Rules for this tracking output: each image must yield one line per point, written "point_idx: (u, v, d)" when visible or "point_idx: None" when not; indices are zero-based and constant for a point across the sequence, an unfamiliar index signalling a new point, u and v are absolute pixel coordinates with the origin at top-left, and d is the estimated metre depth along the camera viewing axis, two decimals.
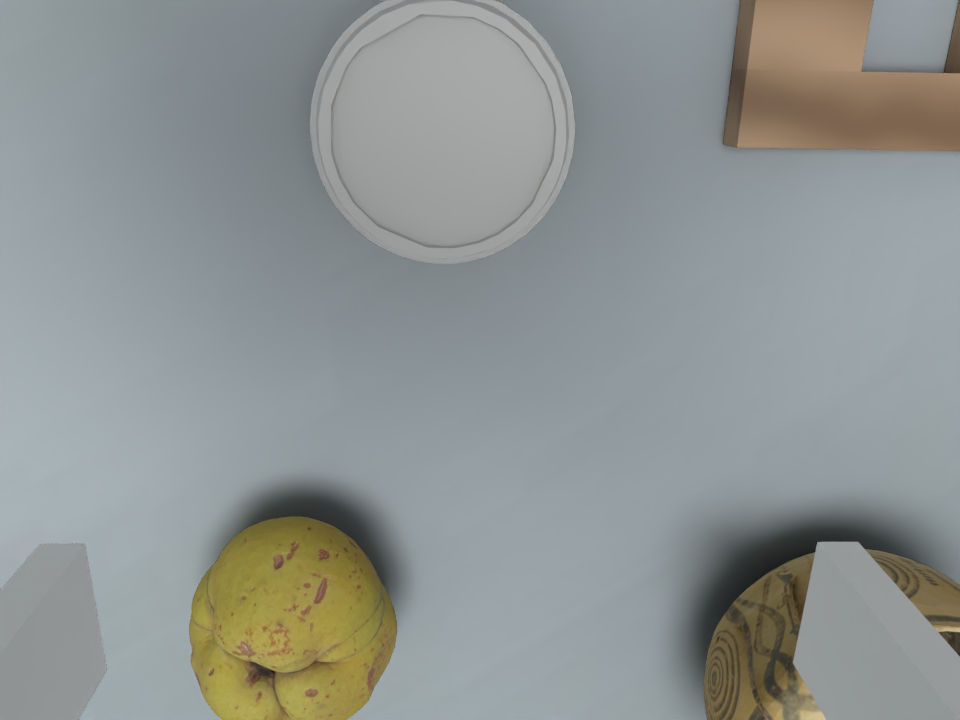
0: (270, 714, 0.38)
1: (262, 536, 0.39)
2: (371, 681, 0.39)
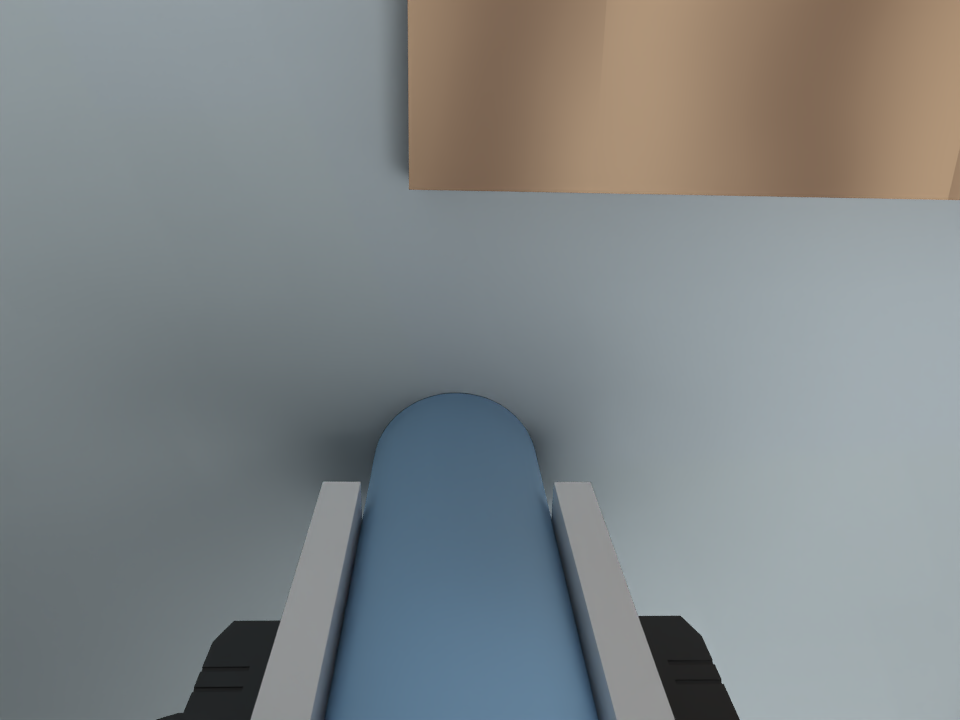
0: None
1: None
2: None
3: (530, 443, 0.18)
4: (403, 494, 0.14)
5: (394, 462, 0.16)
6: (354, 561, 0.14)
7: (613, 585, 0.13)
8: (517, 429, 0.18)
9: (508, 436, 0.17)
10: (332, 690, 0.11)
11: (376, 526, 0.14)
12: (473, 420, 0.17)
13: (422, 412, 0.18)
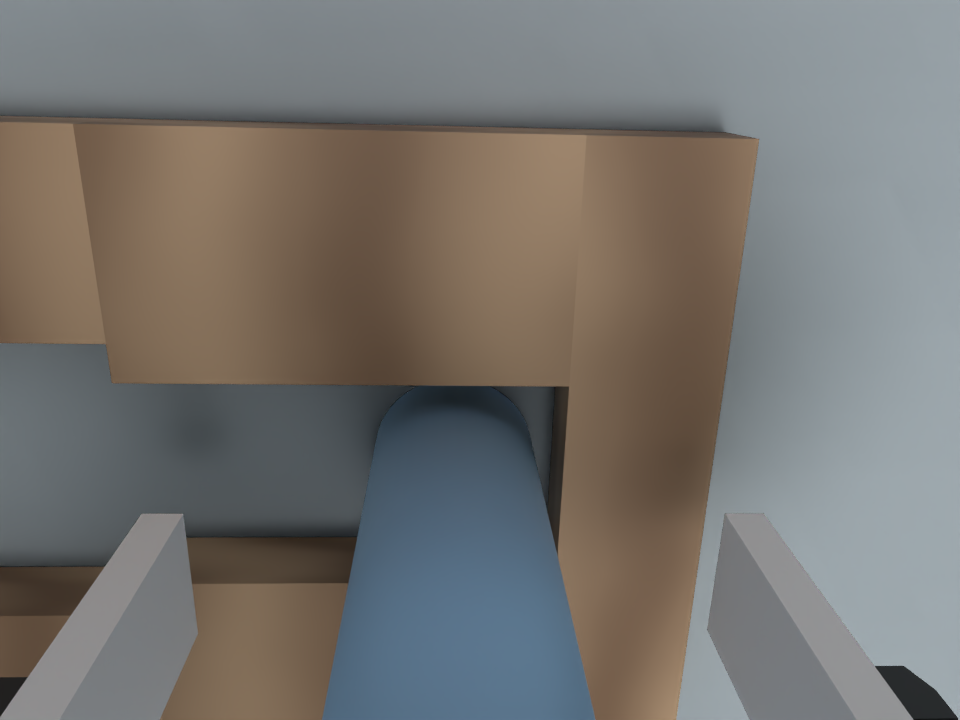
0: None
1: None
2: None
3: (524, 425, 0.19)
4: (403, 470, 0.15)
5: (395, 441, 0.17)
6: (358, 532, 0.15)
7: (836, 634, 0.12)
8: (512, 412, 0.19)
9: (503, 418, 0.18)
10: (339, 642, 0.12)
11: (379, 499, 0.15)
12: (470, 403, 0.18)
13: (422, 396, 0.19)
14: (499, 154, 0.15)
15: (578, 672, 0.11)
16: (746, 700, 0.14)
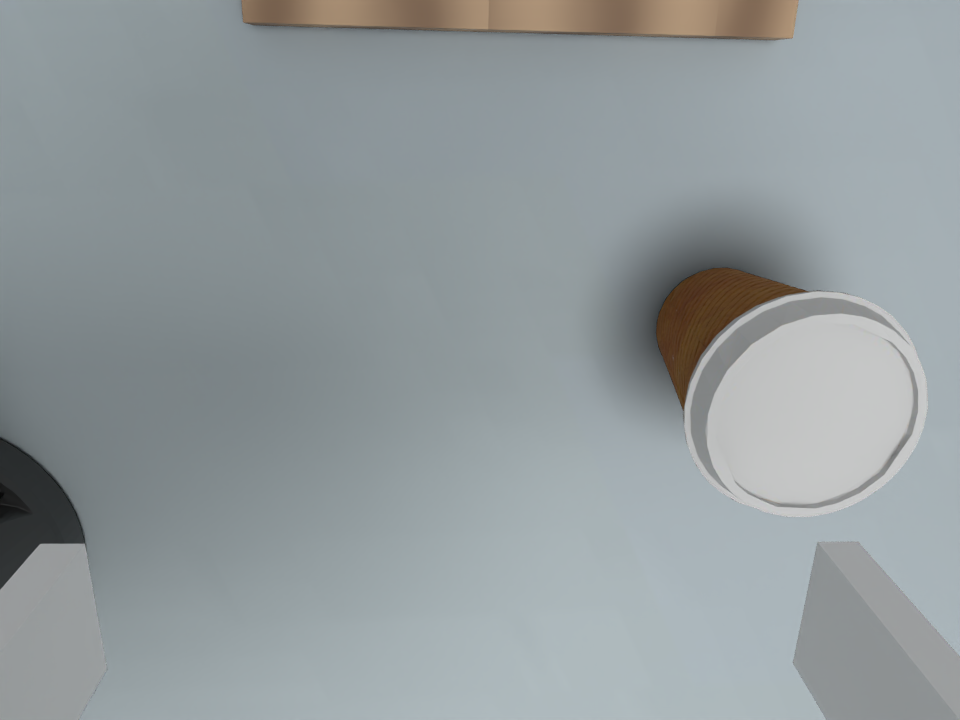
0: None
1: None
2: None
3: None
4: None
5: None
6: None
7: None
8: None
9: None
10: None
11: None
12: None
13: None
14: None
15: None
16: None
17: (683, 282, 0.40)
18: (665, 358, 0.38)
